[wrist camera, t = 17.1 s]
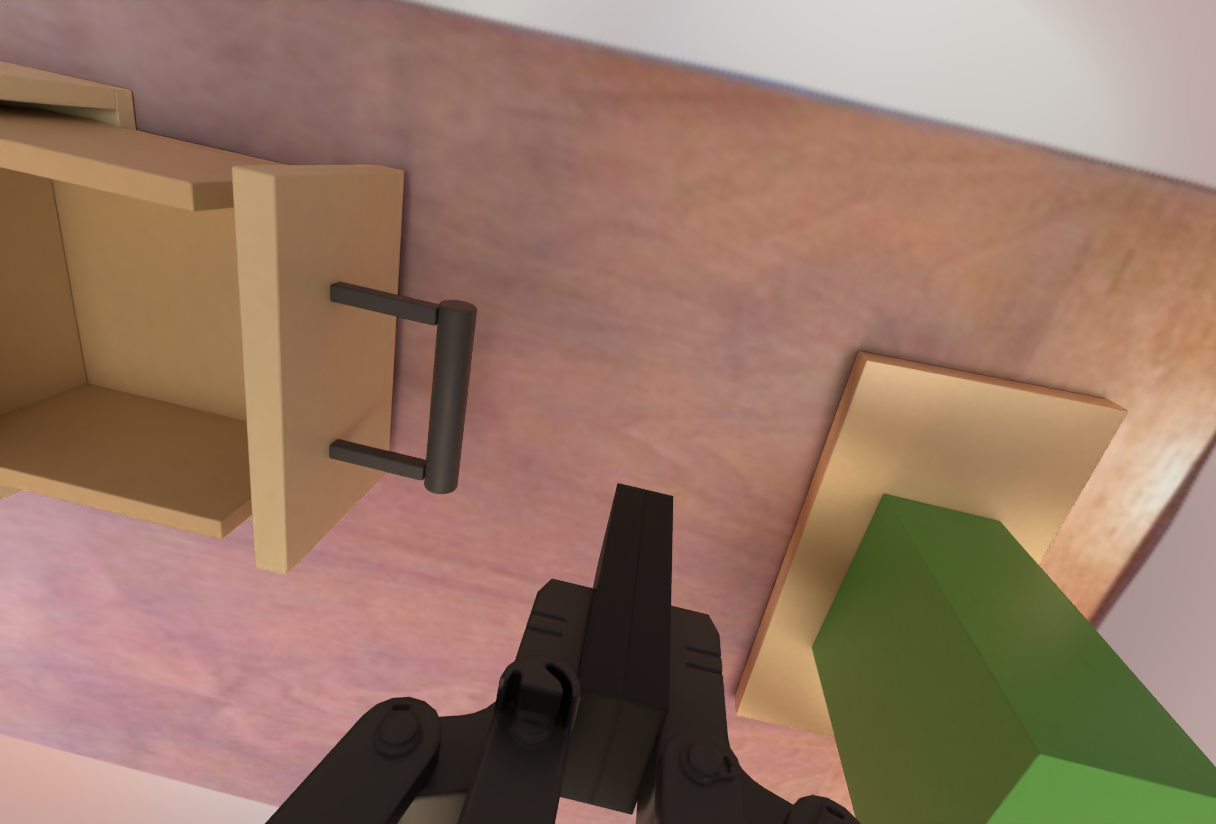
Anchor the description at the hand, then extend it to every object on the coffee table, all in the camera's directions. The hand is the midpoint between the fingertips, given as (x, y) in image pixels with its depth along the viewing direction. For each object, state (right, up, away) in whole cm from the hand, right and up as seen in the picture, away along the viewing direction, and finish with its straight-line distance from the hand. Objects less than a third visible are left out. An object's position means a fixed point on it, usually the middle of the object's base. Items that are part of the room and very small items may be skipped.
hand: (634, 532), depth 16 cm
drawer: (-14, +8, +9) cm, 19 cm away
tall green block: (+12, -5, +11) cm, 17 cm away
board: (+13, -4, +12) cm, 18 cm away
